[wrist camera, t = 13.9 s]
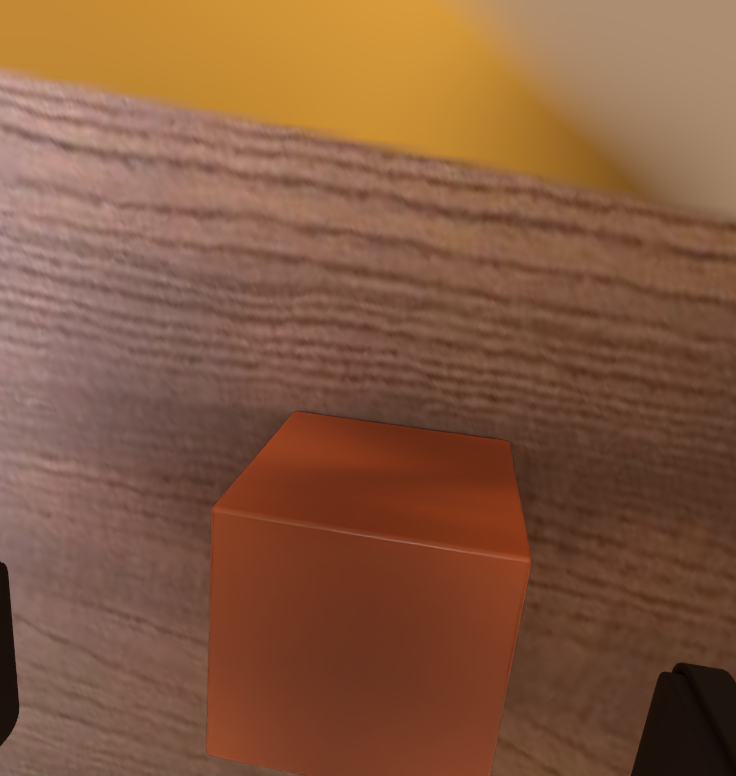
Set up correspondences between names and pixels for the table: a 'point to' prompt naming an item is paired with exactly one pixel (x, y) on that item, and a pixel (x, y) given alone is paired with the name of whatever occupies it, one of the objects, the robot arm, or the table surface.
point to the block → (365, 601)
